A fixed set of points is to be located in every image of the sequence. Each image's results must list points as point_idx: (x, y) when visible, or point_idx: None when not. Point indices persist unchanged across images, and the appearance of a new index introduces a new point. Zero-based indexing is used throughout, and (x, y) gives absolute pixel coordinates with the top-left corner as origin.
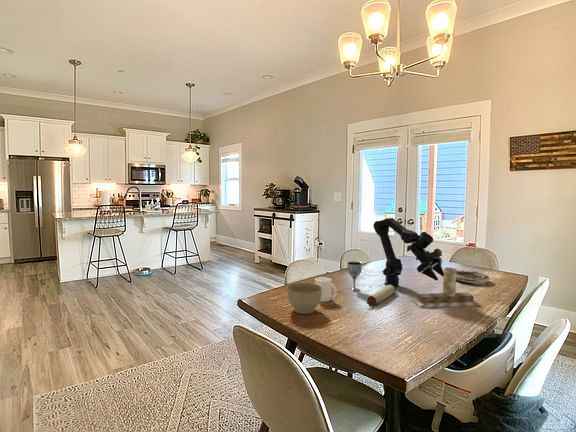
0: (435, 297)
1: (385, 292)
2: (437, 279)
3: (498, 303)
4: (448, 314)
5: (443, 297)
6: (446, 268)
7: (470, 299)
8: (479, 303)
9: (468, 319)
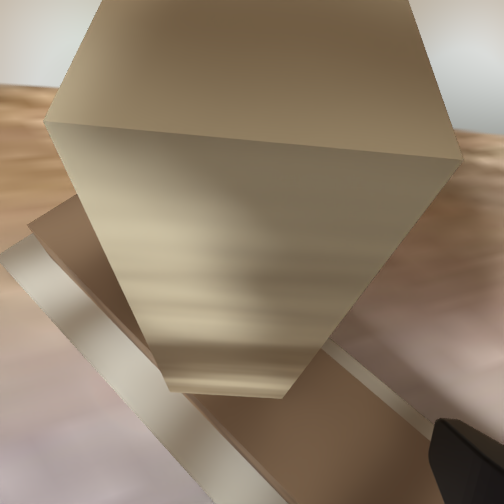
0: (428, 443)
1: None
2: (463, 431)
3: (16, 113)
4: (487, 297)
5: (344, 372)
6: (348, 103)
7: None
8: None
9: (453, 193)
